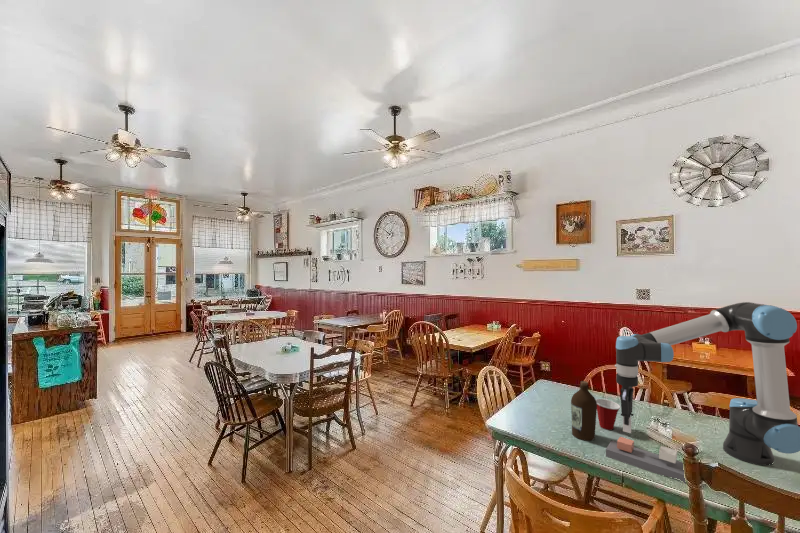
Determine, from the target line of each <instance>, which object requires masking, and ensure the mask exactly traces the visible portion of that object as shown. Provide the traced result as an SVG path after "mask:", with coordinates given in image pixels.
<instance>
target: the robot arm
mask: <svg viewBox="0 0 800 533" xmlns="http://www.w3.org/2000/svg"><path fill="white" fill-rule="evenodd" d="M797 329H798V323H797V320H796V318H795V317H794V315H793V314H792V313H791V312H789V311H788V310H786V309H784V308H783V307H779V306H775V305H769V304H763V303H755V302H750V301H746V302H745V301H743V302H737V303H734V304H729V305H727V306H723V307H719V308H716V309H713V310H711V311H710V312H709V314H706V315H702V316H699V317H696V318H693V319H690V320H687V321H682V322H679V323H676V324H673V325H671V326H666V327H663V328H660V329H657V330H654V331H650V332H647V333H643V334H639V333H634V334H631V335H629V336H628V335H619V336H618V337H617V338H616V341H615V352H616V354H615V357H616V358H615V359H616V363H615V364H614V367H615V369H616V371H615V372H616V374H615V375H616V376H615V377H616V378H615V381H616V383H617V385H621V388H620V390H619V391H620V395H619V398H620V410H621V413H620V416H621V417H622V432H625V433H627V434H631V433H632V417H633V416H634V415H635V414H634V413H633V403H634V400H633V399H634V398H633V397H634V391H635V389H634V388H635V387H637V386H639V377H638V376H639V362H649V363H650V362H652V363H653V362H654V363H671V362H672V361H673V360H674V358H675V357H674V356H675V353H674V352H675V351H674V349H673V347H672V346H673V345H678V344H680V343H684V342H688V341H690V340H691V341H692V340H695V339H698V338H702V337H705V336H708V335H711V334H715V333H718V332H723V333H728V332H733V331H744V336H745V340H746V341H747V342H748V343H750V345H751V353H752V360H753V361H752V362H753V373H754V385H755V393H756V399H750V398H741V397H735V398H731V399H730V402H729V405H728V406H729V422H728V423H729V424H728V425H729V426H728V427H729V429H728V433H727V436H726V437H725V439H724V441H723V444H722V449H723V451H724V453H726V454H728V455H729V456H731V457H734V458H735V459H737V460H739V461H742V462H746V463H750V464H753V463H754V465H758V466H770V465H769V464H772V463H773V462H774V463H775V456H774V454H773V451H772V449H773V450H774V451H777V452H779V453H782V454H787V455H788V454H797V453H799V452H800V426H799V425H798V424H799V423H798V417H797V414H796V413H795V412H794V411H792V410H791V404H790V403H791V402H790V394H789V384H788V374H787V364H786V355H785V354H786V353H785V346H786V345H788V344H789V343H790V342H791V341H790V338H791V337H793V336H794V334H795V333H796V332H797ZM772 465H773V464H772Z"/></svg>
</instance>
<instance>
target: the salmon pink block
mask: <svg viewBox="0 0 800 533" xmlns="http://www.w3.org/2000/svg"><path fill="white" fill-rule="evenodd" d="M616 442H617V448H618V449H621V450H624V451H627V452H630V453H632V451H633V449H634V447H635V440H632V439H629V438H627V437H622V436H619V438H618V439H617V441H616Z"/></svg>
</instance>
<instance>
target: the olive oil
mask: <svg viewBox="0 0 800 533" xmlns="http://www.w3.org/2000/svg"><path fill="white" fill-rule="evenodd" d="M595 399H596V398H595V397H594V395H593V394H592V393H591V392H590V391H589V382H588V381H585V380H581V381H580V384H579V389H578V390H577V391H576V392H575V393H573V394H572V396H571V399H570V409H571V434H572V435H573V437H574V438H576V439H578V440H581V441H587V442H590V441H591V442H592V441H594V440H595V439H596V423H597V414H598V413H597V402H596V400H595Z"/></svg>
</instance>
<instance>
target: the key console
mask: <svg viewBox="0 0 800 533" xmlns="http://www.w3.org/2000/svg"><path fill="white" fill-rule="evenodd" d="M605 457H607V458H609V459H613V460H615V461H618V462H622V463H623V464H624V463H625V464H627V465H630V466H633V467H635V468H639V469H643V470H644V471H648V472H651V473H654V474H656V473H657V474H656V475H659V474H660V476H662V475H664V476H663V477H665V476H668V477H672V478H677V479H680V480H681V481H683V482H684V483H683V484H686V482H685V478H684V470H683V463H682V462H683V461H680V460H677V459H676V463H672V462H669V461H666V460H662V459H659V453H658V454H657V453H654V452H651V451H648V450H645V449H641V448H638V447H635V446H634V449H633V451H632V453H630V452H627V451H624V450H621V449H618V448H617V441H616V440H613V439H612V440H611V441H610V442H609V444H608V445H607V447H606V448H605ZM668 477H667V478H668Z"/></svg>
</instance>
